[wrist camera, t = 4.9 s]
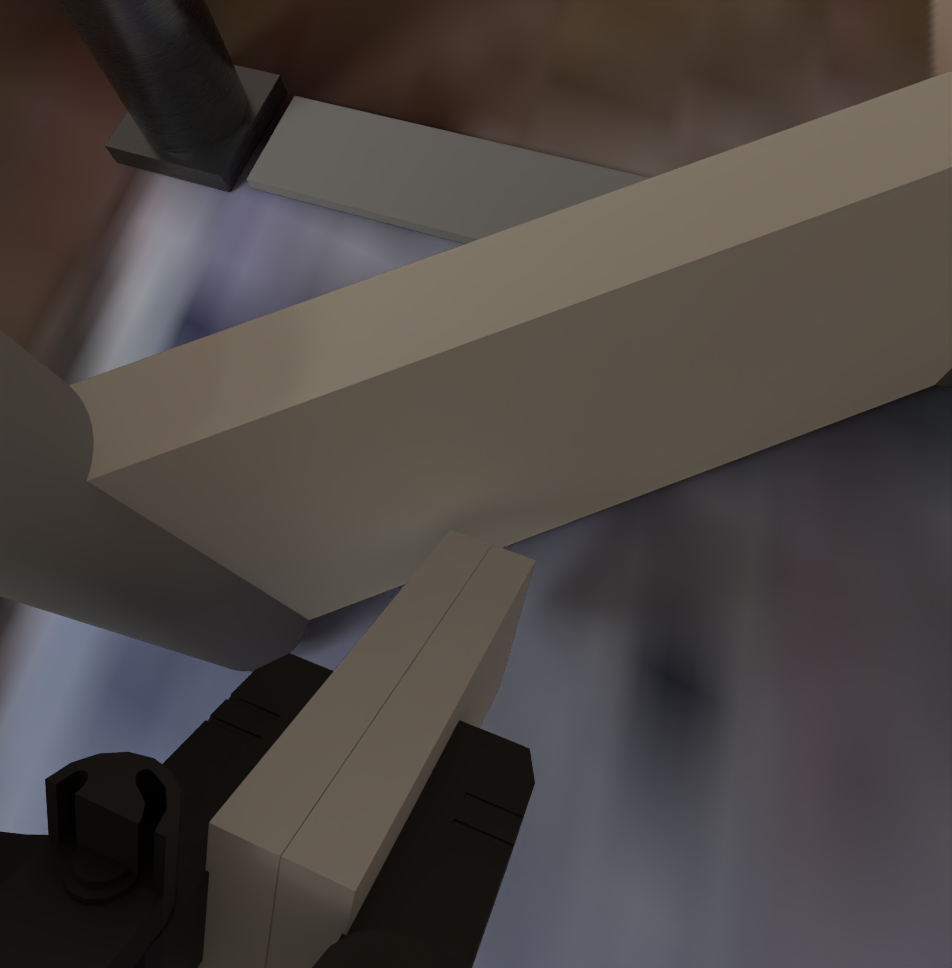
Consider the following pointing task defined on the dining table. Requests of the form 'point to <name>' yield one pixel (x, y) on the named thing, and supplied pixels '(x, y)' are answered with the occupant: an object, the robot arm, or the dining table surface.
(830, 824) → the dining table surface
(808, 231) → the gate
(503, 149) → the strip
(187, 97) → the post
